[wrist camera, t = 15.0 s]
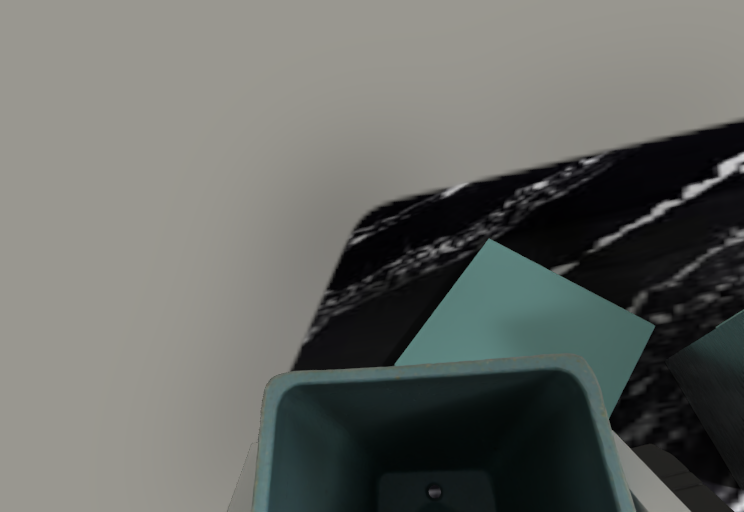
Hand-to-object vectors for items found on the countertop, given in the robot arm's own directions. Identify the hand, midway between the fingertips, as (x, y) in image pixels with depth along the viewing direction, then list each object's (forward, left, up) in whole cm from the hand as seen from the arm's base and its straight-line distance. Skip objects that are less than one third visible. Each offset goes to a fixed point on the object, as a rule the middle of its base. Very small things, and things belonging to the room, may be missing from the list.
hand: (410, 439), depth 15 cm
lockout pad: (-1, -8, -7) cm, 11 cm away
